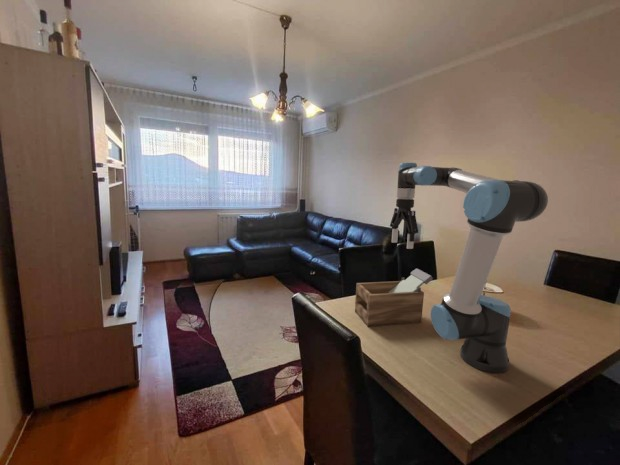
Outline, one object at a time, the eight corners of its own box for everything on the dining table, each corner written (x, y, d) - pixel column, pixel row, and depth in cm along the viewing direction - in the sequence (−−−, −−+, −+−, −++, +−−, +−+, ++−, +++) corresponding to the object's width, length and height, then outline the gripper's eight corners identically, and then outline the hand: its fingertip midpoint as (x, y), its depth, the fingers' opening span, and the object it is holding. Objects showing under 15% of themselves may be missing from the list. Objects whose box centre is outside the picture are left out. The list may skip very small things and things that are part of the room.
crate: (421, 322, 133) (424, 288, 131) (367, 326, 128) (369, 291, 125) (403, 308, 149) (405, 276, 146) (354, 311, 143) (356, 279, 141)
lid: (433, 278, 133) (431, 275, 132) (401, 304, 132) (399, 301, 131) (418, 271, 145) (416, 268, 144) (389, 294, 143) (387, 291, 143)
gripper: (430, 200, 119) (425, 251, 122) (398, 197, 143) (395, 240, 146) (413, 200, 117) (409, 251, 120) (384, 197, 141) (381, 240, 144)
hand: (401, 245), depth 133 cm, fingers open, 13 cm apart
